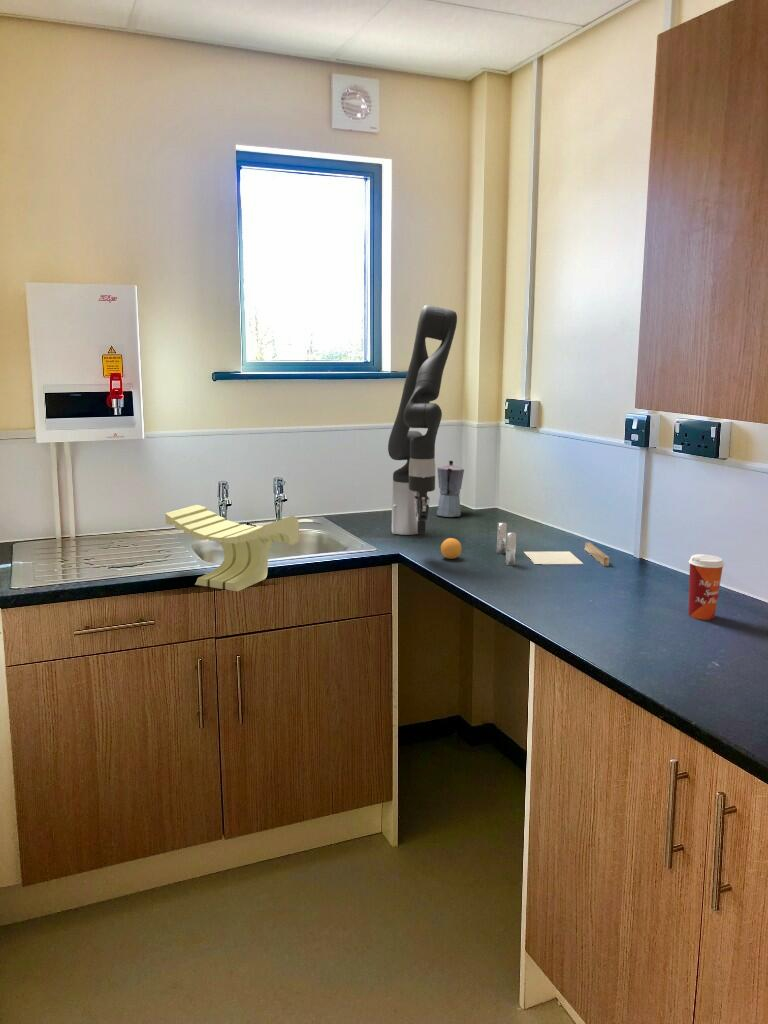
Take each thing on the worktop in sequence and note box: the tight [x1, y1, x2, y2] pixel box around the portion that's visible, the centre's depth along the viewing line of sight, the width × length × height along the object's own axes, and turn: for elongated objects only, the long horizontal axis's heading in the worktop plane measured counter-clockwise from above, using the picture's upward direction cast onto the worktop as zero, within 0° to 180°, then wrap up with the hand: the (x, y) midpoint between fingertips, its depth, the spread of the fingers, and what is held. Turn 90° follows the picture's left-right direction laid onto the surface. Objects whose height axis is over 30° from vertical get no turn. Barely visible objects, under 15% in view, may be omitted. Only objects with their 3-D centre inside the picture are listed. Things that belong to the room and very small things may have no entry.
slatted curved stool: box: [165, 504, 300, 592], centre depth 216 cm, size 30×16×18 cm, turn 65°
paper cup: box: [688, 553, 725, 621], centre depth 192 cm, size 8×8×14 cm
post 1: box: [496, 521, 508, 555], centre depth 248 cm, size 3×3×9 cm
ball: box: [440, 537, 463, 560], centre depth 241 cm, size 6×6×6 cm
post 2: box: [505, 531, 517, 566], centre depth 236 cm, size 3×3×9 cm
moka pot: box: [436, 460, 465, 518], centre depth 299 cm, size 10×15×20 cm, turn 174°
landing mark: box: [523, 550, 584, 565], centre depth 244 cm, size 14×14×1 cm
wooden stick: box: [584, 541, 610, 567], centre depth 244 cm, size 2×18×2 cm, turn 3°
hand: (421, 533), depth 239 cm, fingers closed
